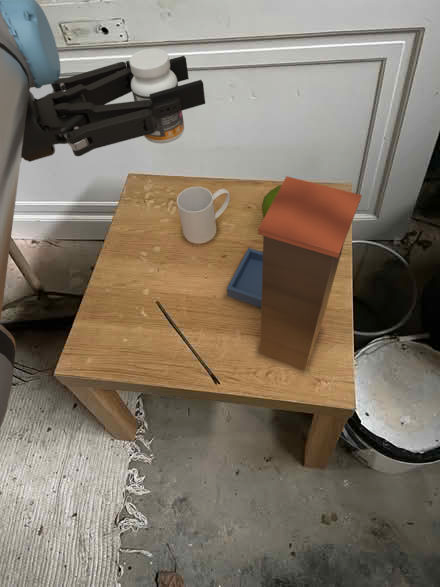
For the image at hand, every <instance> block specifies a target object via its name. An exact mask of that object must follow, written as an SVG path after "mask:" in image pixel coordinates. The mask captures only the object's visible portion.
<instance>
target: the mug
mask: <svg viewBox="0 0 440 587" xmlns="http://www.w3.org/2000/svg"><path fill="white" fill-rule="evenodd" d="M223 194H225V198H224V199H225V200H224V202H223V203H222V205H221V206H220V207H219V209H218V210H217V211H216V212H215V205H214V201H215V200H216V199H217V198H218V197H220V196H221V195H223ZM230 200H231V194H230V192H229V190H227V189H226V188H220V189H218V190H216V191H214V192H213V193H212V192H211V191H210V190H209V189H208V188H206V187H202V186H190V187H187V188H185V189H183V190H181V191H180V193H179V194H178V195H177V198H176V205H177V211H178V214H179V215H178V216H179V220H180V224H181V229H182V233H183V234H182V235H183V237H184V238H185V240H187V241H188V242H190V243H192V244H198V245H200V244H201V245H202V244H205V243H208V242H210V241H211V240H213V238H214V237H215V236H216V233H217V223H216V220H217V219H218V218H219V217H220V216H221V215H222V214H223V213H224V212H225V210H226V209H227V208H228V206H229V204H230Z"/></svg>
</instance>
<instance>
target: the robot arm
mask: <svg viewBox="0 0 440 587" xmlns="http://www.w3.org/2000/svg"><path fill="white" fill-rule="evenodd" d="M169 60H170V70H171V71H172V72H173V73H174V74H175V76H176V78H177V82H178V83H180V82H182V81H187V80H189V72H188V65H187V64H188V63H187V57H186V56H185V55H181V56H177V57H174V58H169ZM129 61H130V60H126V61H119V62H116V63H113V64H109V65H105V66H103V67H99V68H95V69H92V70H89V71H85V72H82V73H79V74H75V75H72V76H68V77H60V76H61V60H60V54H59V51H58V46H57V43H56V38H55V35H54V33H53V29H52V27H51V25H50V22H49V19H48V18H47V15H46V13H45V12H44V10H43V8H42V6H41V5H40V4H39V3H38V2H37V1H36V0H0V428H1V427H2V424H3V421H4V420H5V416H6V413H7V409H8V404H9V400H10V397H11V392H12V387H13V381H14V380H13V379H14V378H13V377H14V371H15V360H16V345H17V344H16V340H15V337H14V336H13V335H12V333H11V332H10V331H9V330H8V329H6V327H5V326H3V324H1V321H2V313H3V307H4V306H3V305H4V296H5V289H6V279H7V273H8V265H9V256H10V250H11V249H10V248H11V241H12V232H13V224H14V216H15V208H16V201H17V200H16V199H17V193H18V183H19V178H20V177H19V176H20V169H21V168H20V167H21V163H22V159H23V160H24V161H26V162H29V163H30V162H34V161H37V160H40V159H44V158H47V157H51V156H53V155H54V154H55V152H56V147H55V145H68V146H69V147H70V148H71V150H72V153H73V155H74V156H75V157H81V156H84V155H85V154H88V153H89V152H92V151H93V150H97V149H99V148H102V147H108V146H110V145H115V144H118V143H123V142H124V141H129V140H133V139H137V138H140V137H144V136H145V135H148V134H152V133H154V132H155V129H156V128H157V121H156V120H157V119H158V118H161V117H164V116H167V115H170V114H173V113H178V112H180V111H182V112H183V111H185V110H189V109H193V108H196V107H199V106H203V105H206V97H205V88H204V82H203V80H202V79H199V80H195V81H191V82H188V83H184V84H180V85H178V86H177V87H173V88H170V89H166V90H163V91H159V92H156V93H152V94H149V95H150V99H151V100H141V101H134V100H133V101H124V102H117V103H111V102H113V101H115V100H116V99H119V98H121V97H124V96H125V95H128V94H130V93H132V89H131V81H132V78H133V77H134V75H133V74H132V72H131V68H130V63H129ZM47 85H48V86H49V85H50V86H51V88H52V92H50V93H47V94H46V95H44V96H42V97H39V98H36V97H35V95H34V94H33V93H32V91H31V89H32V88H35V89H41V88H42V87H43V86H47ZM143 125H144V126H143Z"/></svg>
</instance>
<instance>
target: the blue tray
mask: <svg viewBox="0 0 440 587" xmlns="http://www.w3.org/2000/svg"><path fill="white" fill-rule="evenodd" d="M262 270H263V251H260V250H257V249H253V248H250V247H248V248H247V249H246V251H245V253H244V255H243V257H242V259H241V260H240V262H239V264H238V266H237V268H236V270H235V273H234V274H233V276H232V278H231V279H230V281H229V283H228V285H227V287H226V292H227V294H226V295H227V297H229V298H232V299H234V300H238V301H241V302H244V303H246V304H249V305H252V306H255V307H257V308H261V306H262Z"/></svg>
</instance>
